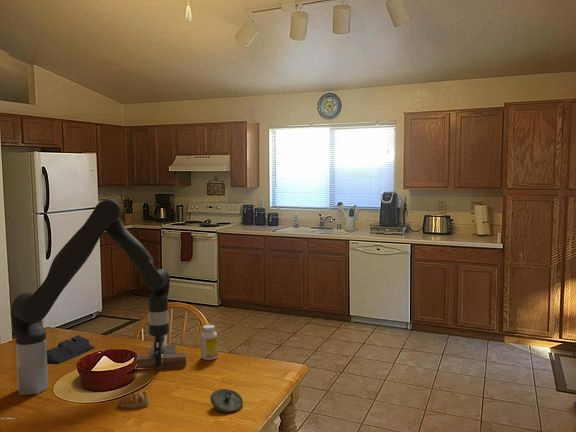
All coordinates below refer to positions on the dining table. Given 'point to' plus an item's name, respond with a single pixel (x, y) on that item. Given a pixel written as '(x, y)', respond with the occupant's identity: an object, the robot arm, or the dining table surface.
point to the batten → (167, 361)
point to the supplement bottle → (209, 343)
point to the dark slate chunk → (68, 350)
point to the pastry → (134, 400)
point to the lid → (226, 400)
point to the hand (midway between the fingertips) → (159, 362)
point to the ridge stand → (165, 348)
